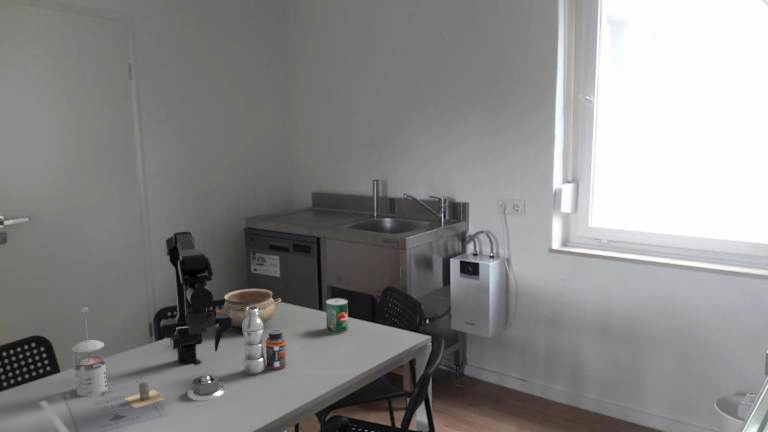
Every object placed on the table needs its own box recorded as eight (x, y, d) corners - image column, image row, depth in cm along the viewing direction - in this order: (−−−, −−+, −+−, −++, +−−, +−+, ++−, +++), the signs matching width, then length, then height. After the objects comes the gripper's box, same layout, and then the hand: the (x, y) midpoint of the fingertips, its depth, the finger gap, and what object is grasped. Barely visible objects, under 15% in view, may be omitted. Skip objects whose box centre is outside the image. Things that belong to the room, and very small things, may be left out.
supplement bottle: (282, 371, 180) (280, 335, 179) (263, 369, 182) (262, 334, 180) (289, 363, 186) (287, 328, 184) (271, 362, 187) (269, 327, 186)
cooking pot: (224, 341, 207) (222, 307, 205) (209, 326, 223) (207, 294, 221) (291, 327, 220) (290, 295, 218) (272, 314, 236) (271, 284, 234)
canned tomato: (347, 334, 212) (346, 304, 210) (325, 334, 212) (324, 304, 210) (349, 326, 220) (348, 298, 218) (327, 326, 220) (327, 298, 218)
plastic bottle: (247, 378, 176) (244, 313, 173) (241, 370, 181) (238, 307, 178) (268, 373, 178) (265, 309, 175) (262, 366, 184) (259, 303, 181)
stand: (124, 401, 161) (123, 382, 160) (154, 392, 166) (152, 373, 166) (135, 411, 155) (133, 391, 154) (165, 402, 161) (164, 382, 160)
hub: (181, 395, 165) (180, 375, 164) (215, 384, 171) (214, 365, 170) (197, 407, 157) (196, 386, 156) (231, 395, 164) (230, 376, 163)
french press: (85, 404, 160) (77, 315, 157) (61, 394, 166) (53, 308, 163) (118, 390, 168) (111, 305, 165) (94, 381, 175) (87, 299, 171)
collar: (195, 386, 167) (194, 376, 166) (219, 384, 168) (218, 374, 168) (192, 397, 160) (192, 386, 160) (218, 394, 162) (217, 384, 161)
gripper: (159, 312, 151) (163, 369, 154) (233, 303, 158) (236, 359, 160) (159, 299, 162) (162, 354, 164) (229, 292, 168) (231, 344, 170)
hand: (198, 353), depth 164 cm, fingers open, 9 cm apart
